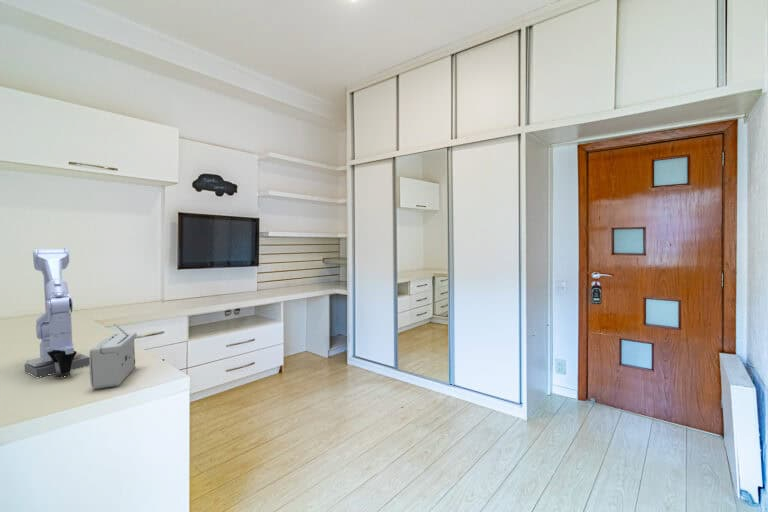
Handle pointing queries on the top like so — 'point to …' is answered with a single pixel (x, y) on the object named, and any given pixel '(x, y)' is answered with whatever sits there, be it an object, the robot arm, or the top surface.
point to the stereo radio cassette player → (112, 360)
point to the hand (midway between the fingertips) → (62, 371)
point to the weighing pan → (45, 360)
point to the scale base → (50, 367)
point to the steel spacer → (58, 372)
